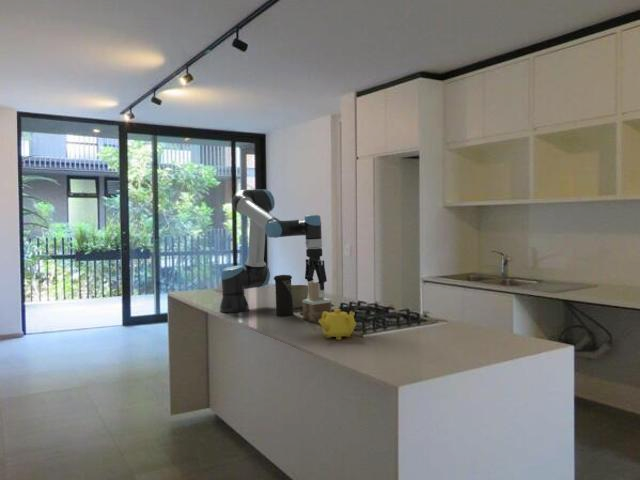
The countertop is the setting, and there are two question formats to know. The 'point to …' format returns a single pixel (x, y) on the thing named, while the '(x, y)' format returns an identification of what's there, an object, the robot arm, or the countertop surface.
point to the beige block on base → (315, 295)
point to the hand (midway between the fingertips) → (316, 295)
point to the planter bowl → (299, 294)
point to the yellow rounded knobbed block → (337, 324)
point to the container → (283, 295)
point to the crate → (315, 311)
